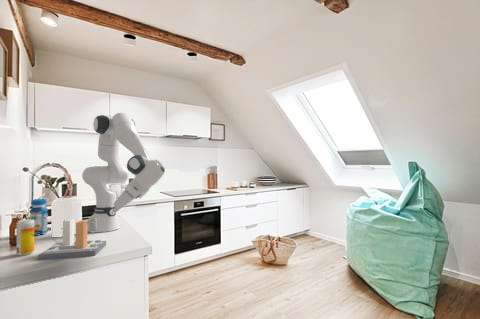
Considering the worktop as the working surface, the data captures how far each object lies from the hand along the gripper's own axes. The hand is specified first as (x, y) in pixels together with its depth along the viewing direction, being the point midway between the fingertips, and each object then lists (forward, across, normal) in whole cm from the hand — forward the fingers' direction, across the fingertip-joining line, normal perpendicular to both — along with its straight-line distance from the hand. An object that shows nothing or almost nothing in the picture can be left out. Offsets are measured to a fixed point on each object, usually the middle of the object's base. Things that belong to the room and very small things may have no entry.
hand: (114, 211), depth 117 cm
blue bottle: (+49, -41, -24) cm, 68 cm away
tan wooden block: (+21, 0, +1) cm, 21 cm away
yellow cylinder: (+40, -5, -15) cm, 43 cm away
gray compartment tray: (+25, -4, 0) cm, 26 cm away
